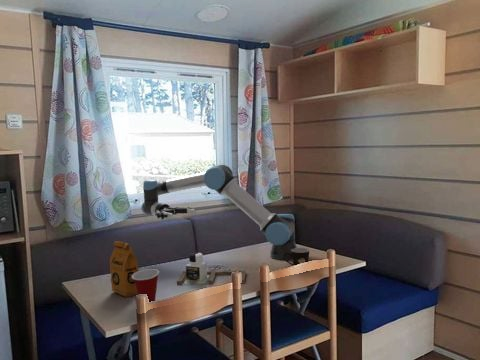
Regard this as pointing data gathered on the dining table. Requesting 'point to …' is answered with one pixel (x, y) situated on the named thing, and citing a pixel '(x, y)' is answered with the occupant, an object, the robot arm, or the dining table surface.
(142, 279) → the plastic cup
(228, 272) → the wooden tray frame
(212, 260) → the dining table surface
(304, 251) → the coffee mug
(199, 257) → the medicine bottle
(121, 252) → the coffee package
